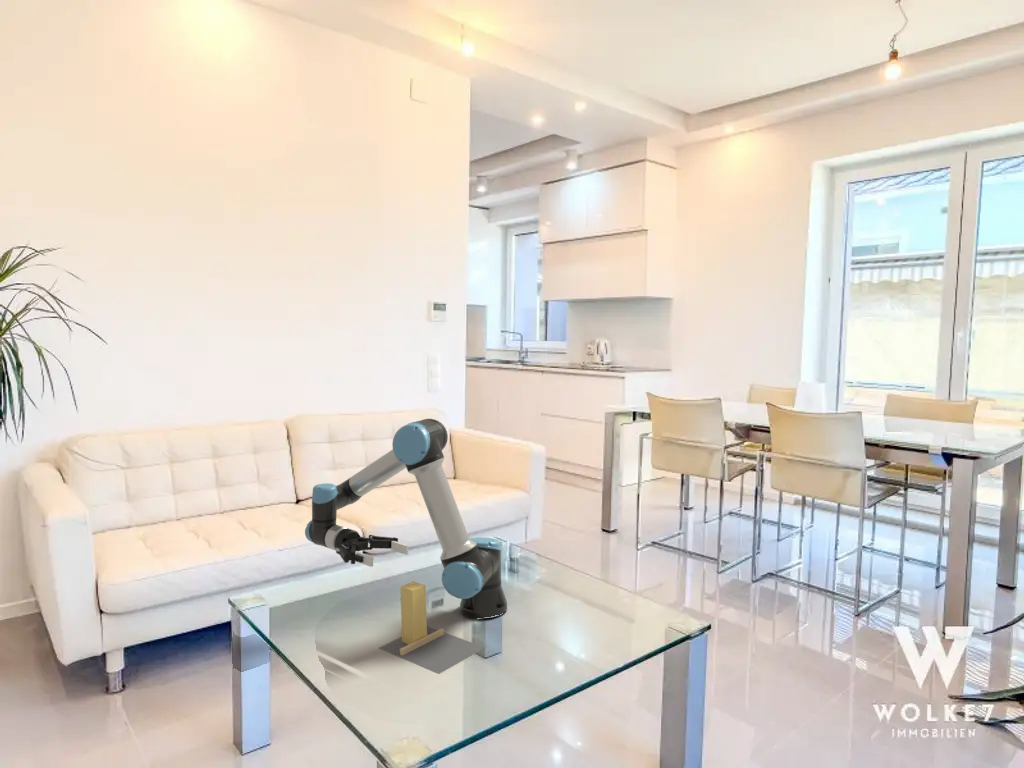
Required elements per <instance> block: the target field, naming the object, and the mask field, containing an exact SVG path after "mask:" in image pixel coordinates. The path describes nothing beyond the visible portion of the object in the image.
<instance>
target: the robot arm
mask: <svg viewBox="0 0 1024 768" xmlns="http://www.w3.org/2000/svg"><path fill="white" fill-rule="evenodd" d="M448 438H449V437H448V431H447V428H446V427H445V426H444V424H443V423H442V422H441V421H440V420H437V419H435V418H434V419H433V418H425V419H422V420H417V421H412V422H409V423H407V424H405V425H403V426H401V427H399V428H398V430H396V431H395V434H394V436H393V438H392V445H391V446H392V449H391V450H389V451H388V452H387V453H384V454H383V455H382V456H380V457H379V458H377V459H376V460H374V461H373V462H372V463H370V464H368V465H367V466H366V467H364V468H363V469H361V470H360V471H358V472H357V473H355V474H353V475H352V476H351V477H349V478H347V479H346V480H345V481H343V482H341V483H340V484H337V485H336V484H333V483H328V482H327V483H320V484H319V483H317V484H315V485H314V486H313V487H312V493H311V494H312V495H311V519H310V521H309V522H308V523H307V524H306V527H305V528H304V529H305V530H304V535H305V538H306V540H308V541H309V542H311V543H313V544H314V545H316V546H317V545H318V546H321V547H324V548H327V549H330V550H333V551H335V553H336V554H337V555H339V556H340V557H341V559H342V560H343V562H344V563H346V564H347V563H349V562H350V564H351V565H354V564H356V562H357V563H359V564H362V565H365V566H368V567H370V568H372V567H374V556H372V555H370V554H367V553H364V552H361V551H372V550H373V549H389V550H390V549H391V551H394V552H396V553H399V554H403V555H406V556H407V555H409V545H408V544H405V543H402V542H399V538H398V537H387V536H378V535H373V534H369V535H368V537H364V536H361V535H360V534H359V532H358V531H356V530H355V529H351V528H347V527H344V526H342V525H339V524H337V516H338V515H337V511H338V510H341V509H342V508H345V507H346V506H349V505H353V504H354V503H357V502H358V501H359V500H360V499H361V498H362V497H363V496H365V495H366V494H368V493H370V492H371V491H373V490H374V489H376V488H378V487H379V486H381V485H382V484H383V483H385V482H387V481H388V480H390V479H391V478H393V477H395V475H397V474H399V473H400V472H402V471H404V470H405V469H406V470H407V473H408V474H412V475H413V476H414V477H415V479H416V482H417V484H418V487H419V490H420V493H421V495H422V498H423V501H424V503H425V506H426V509H427V511H428V515H429V517H430V520H431V523H432V524H433V528H434V530H435V534H436V536H437V538H438V541H439V544H440V546H441V549H442V553H441V554H440V557H439V558H440V561H441V564H442V567H443V570H442V574H441V584H442V586H443V588H444V589H445V591H446V592H447V593H448V594H449V595H450V596H453V597H455V598H456V599H460V602H459V613H460V614H461V615H463V617H466V618H468V619H473V620H478V619H477V618H484V617H491V616H495V615H500V614H502V613H504V612H505V611H506V610H507V611H508V600H507V597H506V595H505V593H504V589H503V587H502V555H501V553H502V548H501V542H500V541H499V540H498V539H496V538H493V537H492V538H491V537H470V536H469V534H468V532H467V530H466V526H465V524H464V521H463V518H462V515H461V513H460V511H459V508H458V505H457V502H456V500H455V499H456V498H455V497H454V494H453V492H452V489H451V486H450V484H449V481H448V478H447V475H446V473H445V471H444V467H443V463H444V460H445V456H444V453H443V450H444V449H445V448H446V445H447V444H448ZM469 537H470V538H469ZM507 611H506V612H507Z"/></svg>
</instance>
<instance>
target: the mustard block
mask: <svg viewBox="0 0 1024 768" xmlns="http://www.w3.org/2000/svg"><path fill="white" fill-rule="evenodd" d="M426 589H427V587H426V585H425V584H423V583H420V582H417V581H411V582H408V583H406V584H404V585H400V615H401V616H400V619H401V637H402V642H404V643H406V644H411V643H413V642H415V641H417V640H419V639H421V638H423V637H425V636H427V626H428V625H427V624H428V623H427V594H426V593H427V590H426Z"/></svg>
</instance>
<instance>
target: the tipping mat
mask: <svg viewBox="0 0 1024 768" xmlns="http://www.w3.org/2000/svg"><path fill="white" fill-rule="evenodd" d="M485 648H486V647H485V646H483V645H480V644H477V643H474V642H472V641H468V640H467V639H463V638H461V637H457V636H455V635H453V634H450V633H447V632H445V629H444V628H440V629H436V628H434V627H431V626H428V625H427V636H425V637H423V638H421V639H419V640H417V641H415V642H413V643H411V644H406V643H404V642H402V636H401V637H398V638H396V639H394V640H392V641H389V642H387V643H385V644H384V645H380V646H379V647H378V649H380V650H383V651H385V652H387V653H390V654H392V655H394V656H397V657H398V658H401V659H403V660H406V661H408V662H410V663H411V664H415V665H417V666H420V667H421V668H423V669H426V670H429V671H431V672H433V673H436V674H441V673H442V674H443V673H444V672H446V670H449V669H451V668H452V667H454V666H456V665H458V664H459V663H462V662H463V661H464V660H467V659H469V658H470V657H472V656H473V655H475V654H477V653H478V652H480V651H482V650H484V649H485Z"/></svg>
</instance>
